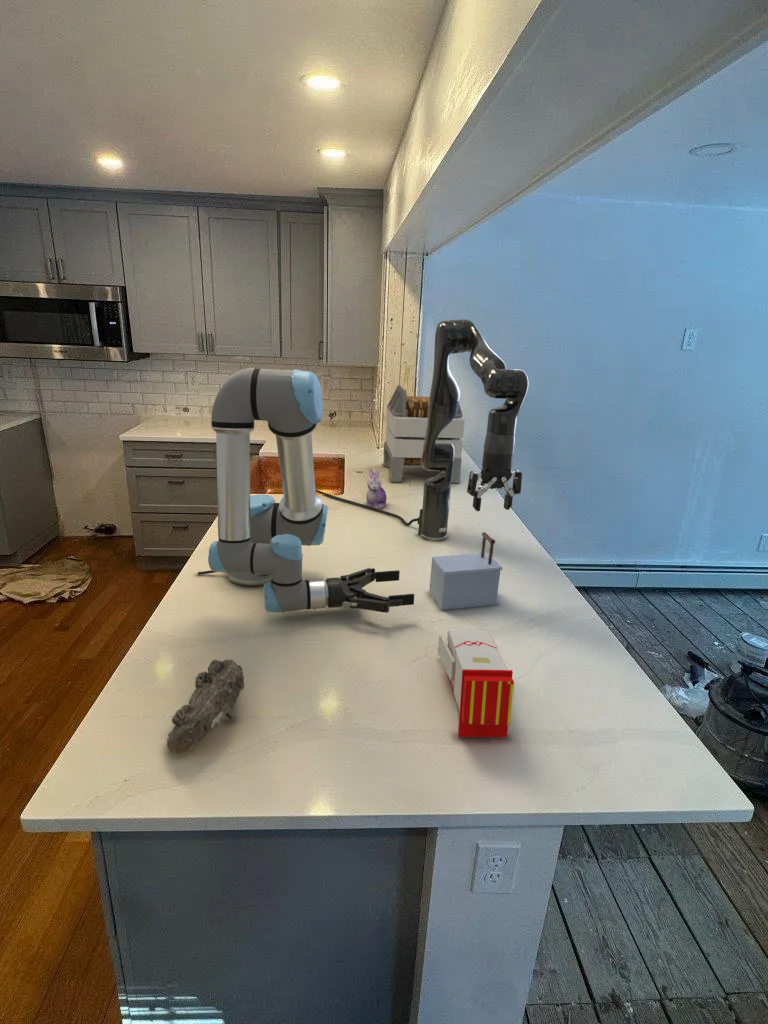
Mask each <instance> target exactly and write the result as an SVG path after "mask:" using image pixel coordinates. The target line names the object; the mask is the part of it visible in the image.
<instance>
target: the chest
mask: <svg viewBox="0 0 768 1024" xmlns="http://www.w3.org/2000/svg"><path fill="white" fill-rule="evenodd" d="M430 564H431V565H430V579H429V589H428V590H429V591H428V594H429V596H430V597H431V598H432V599H433V601H434V602H435V603H436V605H437V606H438V608H439V610H441V611H446V610H457V609H467V608H475V607H485V606H486V607H487V606H493V605H497V601H498V600H497V599H498V591H499V584H500V577H501V576H500V575H501V570H498V571H487V572H475V573H463V574H452V575H444V574H443V573H442V571H441V570H440V569H439V568H438V567H437V565H436V564H435V563H434V562H433V561H432V560H431V563H430Z"/></svg>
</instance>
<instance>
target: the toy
mask: <svg viewBox="0 0 768 1024" xmlns="http://www.w3.org/2000/svg"><path fill="white" fill-rule="evenodd" d="M446 640H447V643H446V641H445V639H444V636H443V635H442V634H439V637H438V646H437V656H438V657H439V659H440V661H441V663H442V666H443V668H444V670H445V672H446V674H447V677H448V679H449V681H450V684H451V687H452V690H453V693H454V697H455V701H456V705H457V708H458V711H459V714H458V715H459V716H458V730H457V731H458V732H457V737H458V738H508V731H509V726H510V725H511V717H512V707H513V697H514V696H513V695H514V684H515V680H514V679H513V673H514V671H513V670H512V669H508V667H507V665H506V662H505V661H504V659H503V658H502V655H501V653H500V651H499V649H498V647H497V643H496V639H495V637H494V635H493V634H491V632H490V631H489V629H467V628H466V629H465V628H463V629H461V628H460V629H459V628H448V630H447V639H446Z"/></svg>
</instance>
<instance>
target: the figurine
mask: <svg viewBox="0 0 768 1024" xmlns="http://www.w3.org/2000/svg"><path fill="white" fill-rule="evenodd" d="M380 475H381V468H378V469H377V470H376V471H375V472H373V470H372V469H369V470H368V476H369V479H368V481H367V483H366V485H367V488H368V490H367V491H366V502H365V505H367V506H370V507H374V508H377V509H382V508H384V507H386V503H387V493H386V491H385V489H384V488H383V487H382V481H381V479H380Z"/></svg>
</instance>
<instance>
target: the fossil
mask: <svg viewBox="0 0 768 1024" xmlns="http://www.w3.org/2000/svg"><path fill="white" fill-rule="evenodd" d="M243 670H244V669H243V667H242V665H240V664H237V662H236V661H235V660H234V659H232V658H231V659H227V658H226V659H224V660H223V661H222V660H217V659H212V660H211V661H210V663H209V665H208V666H207V671H201V672H199V673H198V674H197V675H196V676H195V680H194V684H195V685H194V687H195V689H194V690H193V693H192V694H191V697H190V698H189V700H188V704H184V705H182V706H181V707H180V709H177V710H176V711H175V713H174V715H173V716H172V718H171V723H172V724H173V727H172V730H171V731H170V732H168V734H167V738H166V741H167V742H166V745H167V749H168V750H169V751H173V752H174V753H176V754H178V753H182V752H188V751H189V752H192V751H193V750H195V748H196V747H197V746H199V744H200V743H201V742H203V741H204V740H205V739H206V738H207V737H208V736H209V735H210V734H211V733H212V732H214V730H215V729H217V727H218V726H219V724H220V722H221V721H222V720H223V719H224V718H225V716H226V717H227V719H229V720H233V717H232V715H230V714H229V710H230V709H231V708H234V706H235V704H236V703H237V702H238V699H239V697H240V695H241V693H242V691H243V690H245V689H244V688H245V675H244V671H243Z"/></svg>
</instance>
